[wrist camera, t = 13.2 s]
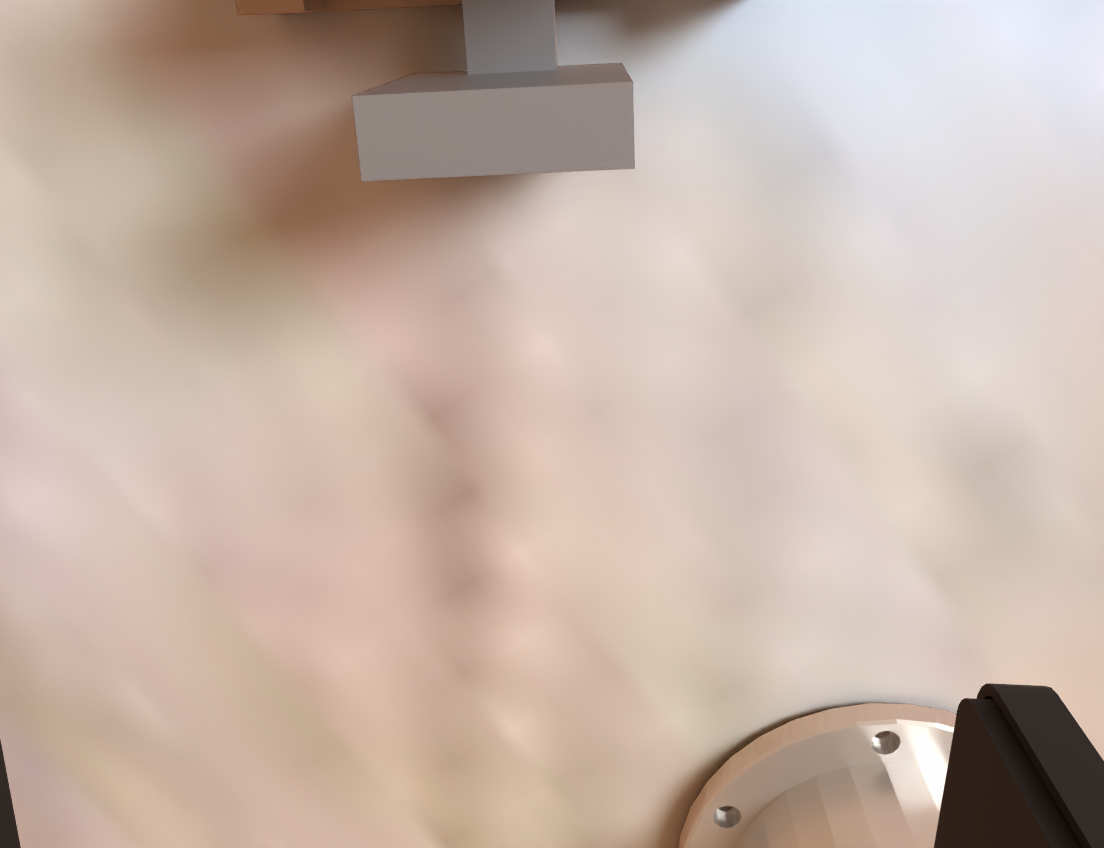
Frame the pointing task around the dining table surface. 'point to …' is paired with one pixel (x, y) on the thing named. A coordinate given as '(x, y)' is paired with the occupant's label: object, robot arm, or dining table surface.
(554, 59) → the pusher
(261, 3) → the brown wooden tray
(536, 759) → the dining table surface
